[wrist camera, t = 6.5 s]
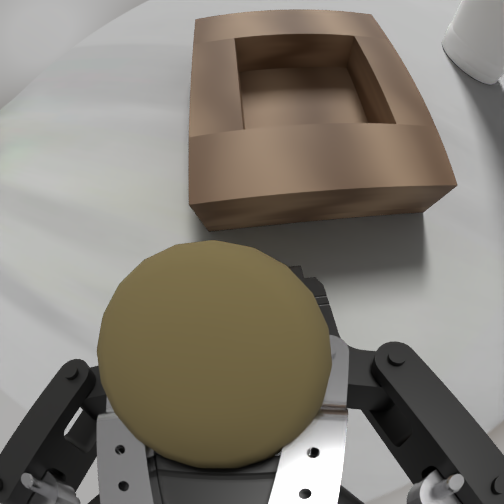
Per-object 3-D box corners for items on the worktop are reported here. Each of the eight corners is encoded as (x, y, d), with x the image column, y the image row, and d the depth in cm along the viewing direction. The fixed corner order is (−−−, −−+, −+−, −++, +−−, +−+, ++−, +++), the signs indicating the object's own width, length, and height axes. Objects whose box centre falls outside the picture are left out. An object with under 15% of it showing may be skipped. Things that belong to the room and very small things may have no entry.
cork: (324, 348, 15) (427, 404, 4) (229, 407, 14) (164, 536, 4) (262, 256, 16) (246, 140, 5) (170, 315, 16) (21, 304, 5)
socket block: (208, 231, 18) (188, 204, 13) (205, 57, 21) (195, 19, 17) (423, 212, 17) (457, 185, 13) (361, 50, 20) (371, 14, 16)
